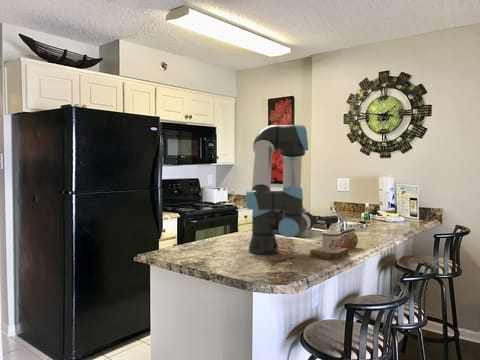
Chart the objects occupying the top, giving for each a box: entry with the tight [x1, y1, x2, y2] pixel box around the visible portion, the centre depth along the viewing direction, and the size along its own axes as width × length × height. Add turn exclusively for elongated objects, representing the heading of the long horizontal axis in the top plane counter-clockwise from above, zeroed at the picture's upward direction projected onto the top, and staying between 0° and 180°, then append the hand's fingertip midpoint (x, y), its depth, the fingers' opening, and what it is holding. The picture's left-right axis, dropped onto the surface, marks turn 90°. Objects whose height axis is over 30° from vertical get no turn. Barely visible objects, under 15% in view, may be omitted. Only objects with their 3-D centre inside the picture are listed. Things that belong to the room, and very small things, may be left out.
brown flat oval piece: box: [341, 232, 359, 251], centre depth 203 cm, size 15×3×8 cm, turn 126°
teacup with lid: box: [321, 226, 345, 253], centre depth 184 cm, size 12×9×12 cm
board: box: [309, 245, 349, 261], centre depth 188 cm, size 16×12×3 cm
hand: (322, 215), depth 178 cm, fingers open, 13 cm apart
